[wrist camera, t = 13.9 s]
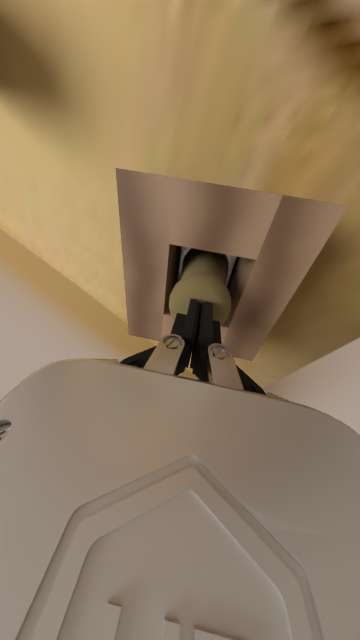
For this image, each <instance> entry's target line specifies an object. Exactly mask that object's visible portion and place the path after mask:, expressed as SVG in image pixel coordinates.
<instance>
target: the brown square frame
mask: <svg viewBox="0 0 360 640" xmlns="http://www.w3.org/2000/svg"><path fill="white" fill-rule="evenodd" d="M116 178H117V190H118V203H119V216H120V228H121V241H122V254H123V267H124V279H125V292H126V305H127V318H128V330H129V335H133V336H138V337H143V338H147V339H152V340H157V341H160V340H161V338H162V337H163V336H165V335H167V334H171V331H172V327H173V324H174V319H173V318H172V316H171V314H170V310H169V298H170V294H171V292H172V290H173V288H174V286H175V285H176V282H177V274H178V267H179V259H180V251H181V246H183V247H188V248H194V249H199V250H205V251H210V252H216V253H221V254H227V255H232V256H237V259H236V261H235V264H234V267H233V270H232V273H231V276H230V279H229V282H228V285H227V289H228V291H229V294H230V297H231V310H230V313H229V315H228V318H227V320H226V321H225V322H224V323H223V325H222V326H220V328H221V342H222V344H223V345H225V346H226V347H228V348H229V349H230V350H231V352H232V355H233V357H236V358H241V359H245V360H250V361H252V360H253V359H254V357H255V355H256V354H257V352H258V351H259V349H260V347H261V346H262V344H263V343H264V341H265V339H266V338H267V336H268V335H269V333H270V331H271V330H272V328H273V327H274V325H275V323H276V322H277V320H278V319H279V317H280V315H281V314H282V312H283V311H284V309H285V307H286V306H287V304H288V303H289V301H290V299H291V298H292V296H293V295H294V293H295V291H296V290H297V288H298V286H299V285H300V283H301V282H302V280H303V278H304V277H305V275H306V274H307V272H308V270H309V269H310V267H311V266H312V264H313V262H314V261H315V259H316V258H317V256H318V254H319V253H320V251H321V250H322V248H323V246H324V245H325V243H326V242H327V240H328V238H329V237H330V235H331V234H332V232H333V230H334V229H335V227H336V226H337V224H338V222H339V221H340V219H341V218H342V216H343V214H344V213H345V211H346V210H347V208H348V205H342V204H336V203H329V202H323V201H317V200H311V199H305V198H298V197H292V196H286V195H280V194H273V193H267V192H261V191H255V190H249V189H242V188H236V187H230V186H224V185H218V184H211V183H205V182H199V181H193V180H186V179H180V178H174V177H168V176H162V175H155V174H149V173H143V172H137V171H131V170H124V169H118V168H116Z"/></svg>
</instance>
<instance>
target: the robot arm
mask: <svg viewBox="0 0 360 640" xmlns="http://www.w3.org/2000/svg"><path fill="white" fill-rule="evenodd" d="M199 306H200V302H197V299H191V298H190V303H189V307H188V312H187V315H185V314H180V313H177V315H176V318H175V321H174V324H173V327H172V331H171V334H167V335H165V336H163V337H162V338H161V340H160V342H159V343H158V345H157V346H155V347H153V348H150V349H148V350H145V351H143V352H140V353H138V354H135V355H133V356H130V357H128V358H126V359H124V360H122V361H118V359H67V360H60V361H56V362H52V363H49V364H47V365H45V366H43V367H41V368H39V369H38V370H36V371H34V372H33V373H32V374H30V375H29V376H28V377H27V378H25V379H24V380H23V381H22V382H20V383H19V384H18V385H17V386H16V387H15V388H13V389H12V390H11V391H10V392H9V393H8V394H7V395H6V396H4V397H3V398H2V399H1V400H0V640H360V435H359V434H357V432H355V431H354V430H353V429H352V428H350V427H349V426H347V425H346V424H344V423H343V422H341V421H339V420H337V419H335V418H334V417H332V416H330V415H328V414H326V413H323V412H321V411H319V410H316V409H314V408H311V407H308V406H305V405H302V404H298V403H294V402H291V401H288V400H286V399H284V398H281V397H279V396H276V395H274V394H272V393H269V392H268V393H265V392H264V391H263V389H262V388H261V387H260V386H259V385H258V384H256V383H255V382H254V381H253V380H252V379H251V378H250V377H249V376H248V375H247V374H245V373H244V372H243V371H242V370H241V369H240V368H239V367H238V366H237V365H236V364H235V361H234V358H233V355H232V352H231V350H230V349H229V348H228V347H226V346H225V345H223V344H222V342H221V328H220V321H215V320H213V303H212V302H207V301H205V303H202V305H201V309H200V313H199ZM198 315H199V317H198ZM191 353H192V357H191ZM190 357H191V364H190V368H192V369H193V372H192V374H195V375H196V376H197V378H198V379H197V380H195V379H191V378H186V377H181V376H178V374H180V373H182V372H184V370H185V367H187V368H188V365H189V361H190Z"/></svg>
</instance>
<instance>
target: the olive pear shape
mask: <svg viewBox="0 0 360 640" xmlns="http://www.w3.org/2000/svg"><path fill="white" fill-rule="evenodd" d="M228 270H229V262H228V259H227V256H226V254H221V253H216V252H210V251H205V250H199V249H194V248H192V249H191V250H190V251H189V252H188V253H187V254H186V255H185V257H184V260H183V264H182V271H181V280H180V281H179V282H178V283H177V284H176V285H175V286H174V288H173V290H172V292H171V294H170V298H169V310H170V314H171V316H172V318H173V319H174V321H175V318H176V315H177V313H180V314H185V315H187V312H188V307H189V303H190V298H191V299H197V302H200V306H199V313H200V309H201V305H202V303H205V301H207V302H212V303H213V320H215V321H220V326H222V325H223V323H224V322H225V321H226V320H227V318H228V315H229V313H230V310H231V297H230V294H229V291H228V289H227V287H226V286H225V285H226V280H227V275H228ZM198 317H199V315H198Z"/></svg>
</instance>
